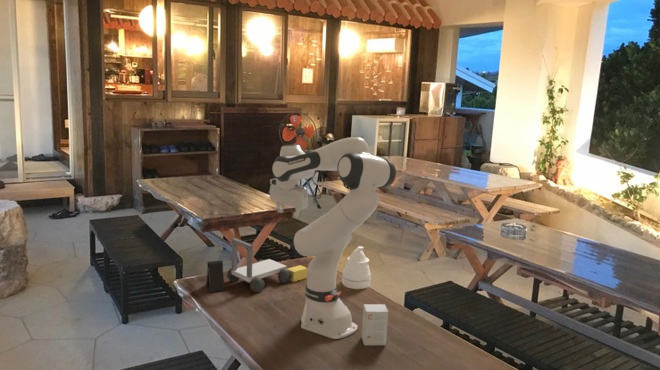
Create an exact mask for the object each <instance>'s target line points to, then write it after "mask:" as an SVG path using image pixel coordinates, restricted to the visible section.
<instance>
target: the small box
mask: <svg viewBox="0 0 660 370" xmlns="http://www.w3.org/2000/svg"><path fill="white" fill-rule="evenodd" d="M362 308H363V309H362V321H361V323H362V324H361V340H362V343H363V345H364V346H387V337H388V323H389V321H388V320H389V310H388V307H387V306H386V304H385V303H384V304H381V303H380V304H379V303H377V304H374V303H373V304H371V303H370V304H368V303H367V304H366V303H364V304H363V305H362Z"/></svg>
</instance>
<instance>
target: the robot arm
mask: <svg viewBox="0 0 660 370" xmlns="http://www.w3.org/2000/svg"><path fill="white" fill-rule="evenodd" d="M369 147H370V146H369V144H368V143H367V141H366V140H365V139H363V137H359V136H356V137H355V136H353V137H352V136H351V137H345V138H341V139H338V140H336V141H332V142H330V143H328V144H326V145H324V146H321V147H319V148H316V149H313V150H311V151H309V152H305V151H303V149H302V147H301V145H299V144H295V143H294V144H284V145H282V146H281V148H280V152H279V156H277V157H276V158H275V159H274V161H273V163H272V167H271V171H272V175H273V176H274V177H275V178H271V179H270V180H269V184H270V187H269V199H270V200H271V201H273V202H275V205H276V207H277V213H280V214H282V213H284V208H283V206H282V204H284V205H286V206H290V207H292V208H293V207H294V209H295V212H293V213H292V216H293V218H299V214H300V212H301V211H302V210H304V209H307V208H308V207H309V197H308V189H307V188H306V187H305V186H304V185H301V180H305V179H307V180H308V179H310V178H313V177H314V176H315V174H316V173H317V171H327V172H328V171H329V172H330V171H332V172H337V174H338V177H339V180H340V181H341V182H342V185H343V187H344V188H345V189H346V190H349V192H348V194H346V195H345V196H344V197H343V198H342V199H341V200H340V201H339V202H337V204H335V205H334V206H333V207H332V208H331V209H329V211H328V212H326V213H324V214H322V215H321V216H320V217H318V218H317V219H315V220H314V221H312V222H311V223H310V224H308V225H306V226H305V227H302V228H301V229H299V230H298V231H296V233H295V234H294V236H293V245H294V248H295V250H296V251H297V253H298V254H299V255H300V256H304V257H313V256H314V257H313V258H312V259H311V261H310V262H309V264H308V265H307V278H306V285H305V288H304V289H305V290H304V291H305V292H304V296H305V302H304V307H303V312H302V316H301V318H300V321H301V324H300V325H301V326H300V328H301V329H303V330H306V331H309V332H311V333H315V334H318V335H320V336H323V337H326V338H329V339H332V340H338V339H344V338H346V337H349V336H350V335H352V334H354V333H355V332H356V331H357V330H358V328H359V327H358V324H356V323H355V322H353V321H352V319H353V318H352V314H351V313H352V312H351V311H350V310H349V308H348V306H347V305H345V304H344V302H343V301H342V300H341V299H340V295H341V293H342V291H338V287H337V277H338V276H337V273H338V268H339V264H340V260H341V257H342V255H343V253H344V250H345V249H346V247H347V246H348V245H349V243H350V242H351V241H352V238H353V232H354V231H356V230H357V229H358V228H359V227H360V226H361V225H362V224H364V222H366V221H367V220H368V219H369V218H370V217H371V216H372V215H373V213H374V212H375V211H376V209H377V208H378V206H379V204H380V197H379V194H378V192H377V191H376V188H377V189H383V188H387V187H390V186H392V184H393V183H394V181H395V179H396V176H397V168H396V166H395V164H394V163H393V162H392V161H390V160H389V159H387V158H386V157H384V156H382V155H379V154H376V155H375V154H374V155H373V154H371V153H370V148H369Z"/></svg>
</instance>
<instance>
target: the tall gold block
mask: <svg viewBox="0 0 660 370" xmlns="http://www.w3.org/2000/svg"><path fill="white" fill-rule="evenodd" d="M307 269H308V267H306V266H303V265H301V264H299V265H296V266H292V267H289V268H288V267H287V270H289V271H290V272H291V274H292V276H291V279H290V281H291V282H293V283H295V282H299V281H302V280H305V278H306V279H307ZM298 280H299V281H298Z"/></svg>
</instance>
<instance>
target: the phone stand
mask: <svg viewBox="0 0 660 370" xmlns="http://www.w3.org/2000/svg"><path fill="white" fill-rule="evenodd" d="M206 264H207V267H206V268H207V271H206V278H205V286H206V287H207V289H208V290H209V293H216V292H217V293H218V292H224V291H225V280H224V279H225V277H224V263H223V261H222V260H215V261H214V260H213V261H208V262H207V263H206Z"/></svg>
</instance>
